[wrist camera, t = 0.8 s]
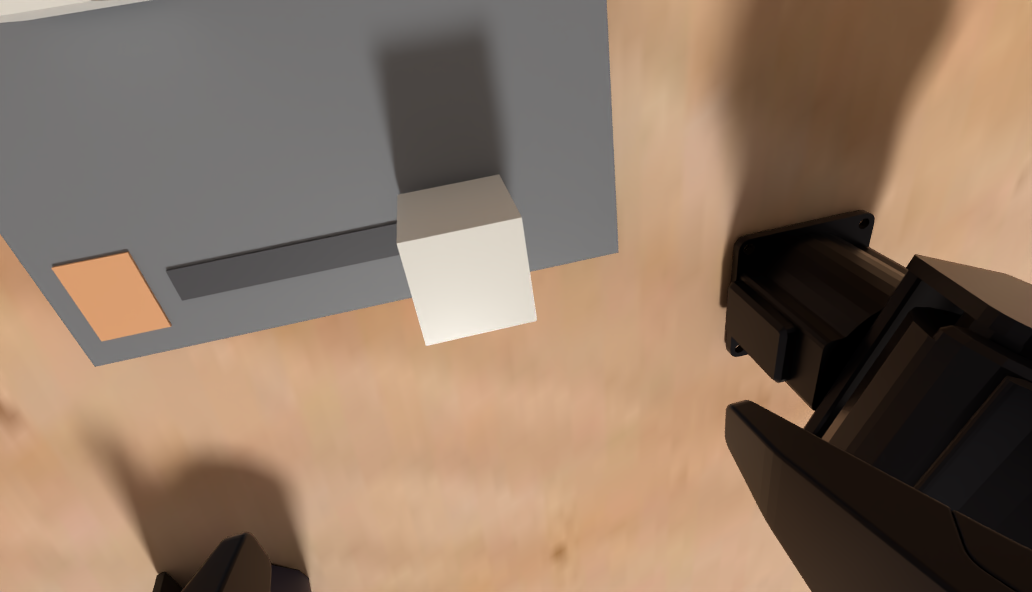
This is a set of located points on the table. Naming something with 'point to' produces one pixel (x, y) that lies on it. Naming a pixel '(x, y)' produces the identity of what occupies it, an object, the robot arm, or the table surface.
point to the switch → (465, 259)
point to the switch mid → (51, 8)
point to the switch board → (285, 152)
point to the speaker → (285, 587)
